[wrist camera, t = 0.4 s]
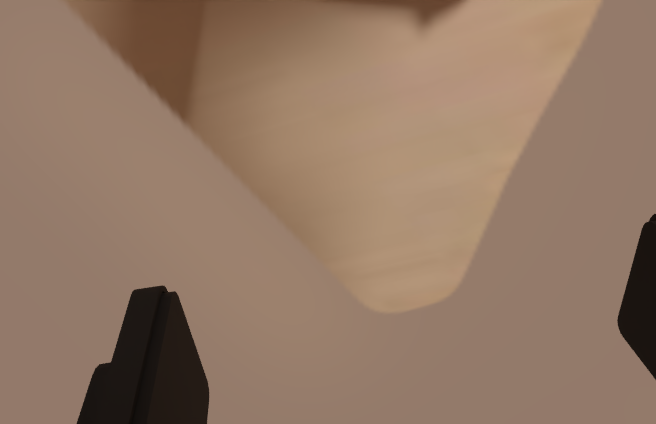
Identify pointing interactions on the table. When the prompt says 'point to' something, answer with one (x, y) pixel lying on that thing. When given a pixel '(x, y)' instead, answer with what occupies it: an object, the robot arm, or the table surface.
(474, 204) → the table surface
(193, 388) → the robot arm
